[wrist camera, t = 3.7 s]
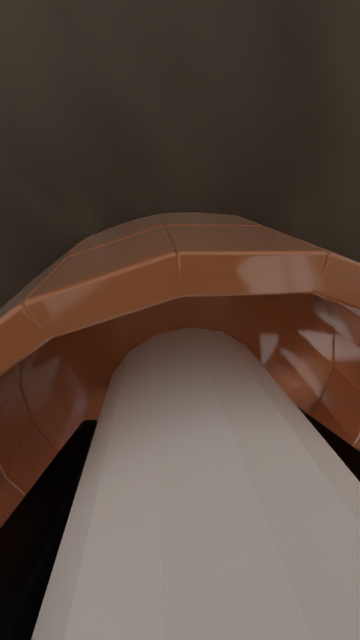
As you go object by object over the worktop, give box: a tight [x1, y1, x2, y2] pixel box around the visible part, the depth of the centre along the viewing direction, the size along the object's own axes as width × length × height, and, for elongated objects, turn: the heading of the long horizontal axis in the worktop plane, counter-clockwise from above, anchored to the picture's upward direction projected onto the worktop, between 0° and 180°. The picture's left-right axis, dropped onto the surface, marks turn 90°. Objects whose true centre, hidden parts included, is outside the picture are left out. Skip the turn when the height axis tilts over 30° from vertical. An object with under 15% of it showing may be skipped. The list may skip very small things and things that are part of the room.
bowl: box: [0, 212, 360, 528], centre depth 8 cm, size 12×12×4 cm
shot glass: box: [31, 327, 360, 640], centre depth 7 cm, size 7×7×7 cm
